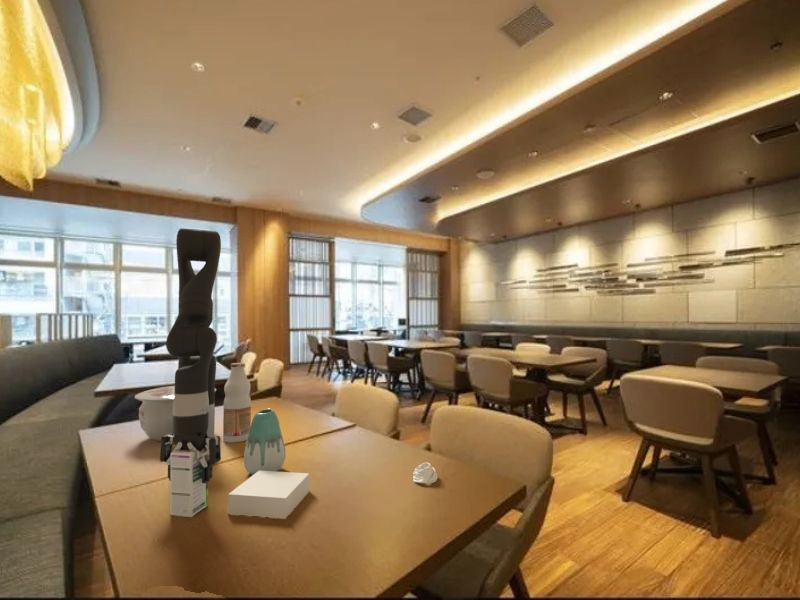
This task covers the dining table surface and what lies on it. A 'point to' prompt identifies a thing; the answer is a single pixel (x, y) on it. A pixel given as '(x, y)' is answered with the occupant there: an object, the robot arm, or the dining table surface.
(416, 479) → the whipped cream
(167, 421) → the chamber pot
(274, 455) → the vase
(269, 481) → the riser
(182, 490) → the syrup box
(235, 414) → the fruit juice
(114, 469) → the dining table surface
